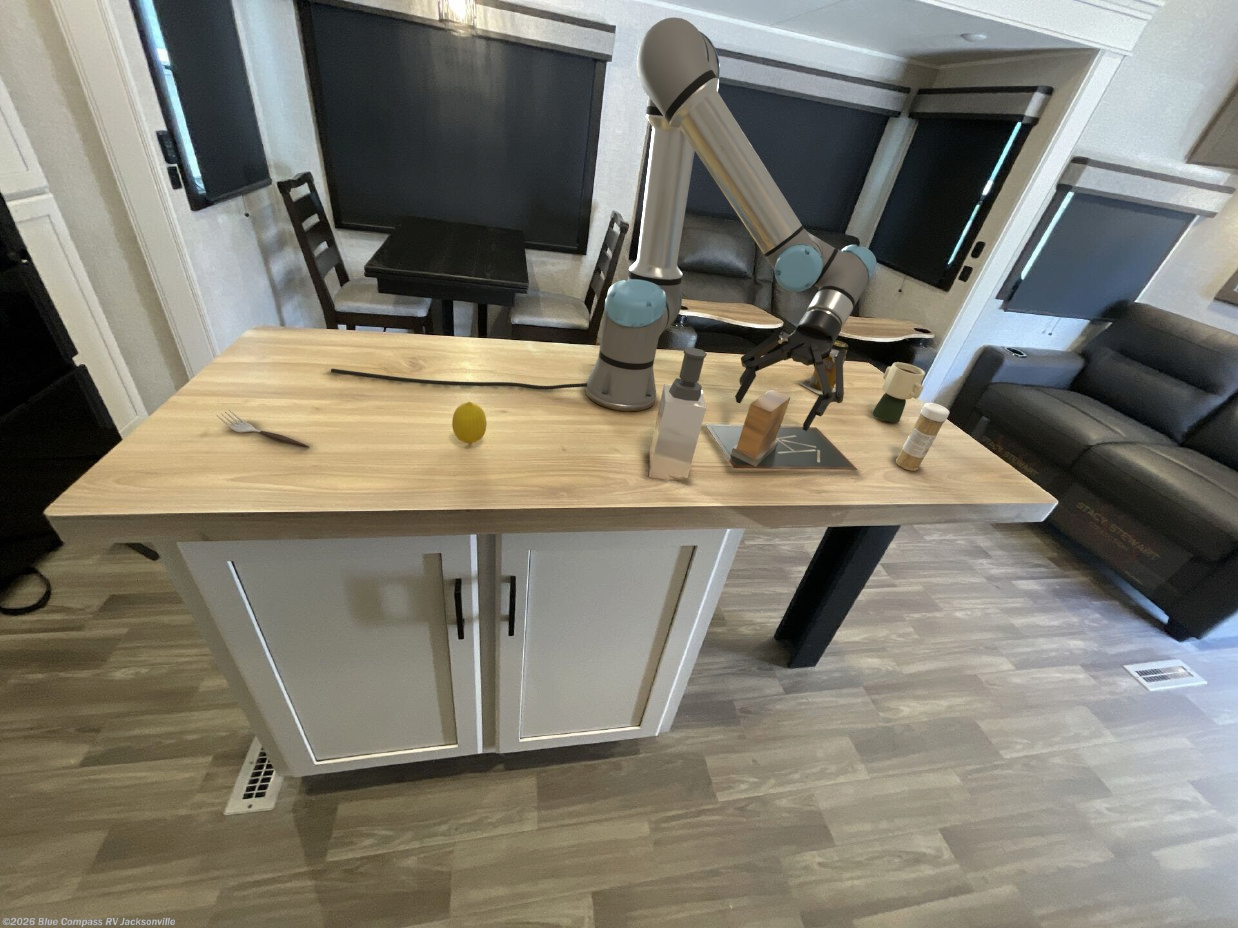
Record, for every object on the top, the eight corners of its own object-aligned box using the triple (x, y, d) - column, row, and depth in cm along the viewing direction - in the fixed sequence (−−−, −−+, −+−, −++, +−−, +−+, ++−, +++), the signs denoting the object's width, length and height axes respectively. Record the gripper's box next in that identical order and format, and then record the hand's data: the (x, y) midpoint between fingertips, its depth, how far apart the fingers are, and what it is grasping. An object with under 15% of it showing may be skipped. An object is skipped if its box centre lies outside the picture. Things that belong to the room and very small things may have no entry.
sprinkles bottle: (904, 458, 111) (934, 401, 103) (922, 470, 107) (955, 412, 100) (890, 461, 109) (919, 402, 101) (908, 473, 105) (940, 414, 98)
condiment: (839, 391, 137) (857, 347, 130) (819, 395, 132) (837, 350, 126) (817, 379, 142) (833, 336, 135) (796, 383, 137) (813, 338, 131)
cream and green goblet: (912, 429, 123) (939, 379, 116) (889, 430, 121) (915, 379, 114) (880, 407, 132) (903, 358, 125) (858, 408, 129) (880, 358, 122)
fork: (303, 454, 82) (301, 443, 81) (218, 426, 84) (215, 415, 83) (316, 446, 84) (314, 435, 83) (232, 419, 86) (229, 408, 85)
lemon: (457, 454, 88) (456, 412, 83) (449, 437, 92) (448, 396, 87) (490, 450, 90) (491, 408, 86) (481, 433, 94) (481, 393, 90)
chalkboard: (732, 472, 96) (733, 467, 95) (703, 427, 109) (704, 423, 108) (855, 473, 102) (857, 469, 102) (814, 431, 115) (816, 427, 115)
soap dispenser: (682, 455, 98) (711, 342, 86) (686, 482, 91) (718, 363, 79) (648, 450, 98) (672, 336, 86) (649, 477, 91) (675, 356, 79)
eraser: (755, 467, 97) (774, 414, 91) (730, 455, 99) (746, 402, 93) (776, 448, 104) (794, 398, 98) (752, 437, 106) (768, 387, 100)
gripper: (886, 352, 99) (834, 448, 96) (764, 312, 110) (714, 397, 107) (893, 330, 92) (836, 432, 90) (762, 290, 103) (708, 380, 100)
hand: (770, 413), depth 98 cm, fingers open, 13 cm apart
